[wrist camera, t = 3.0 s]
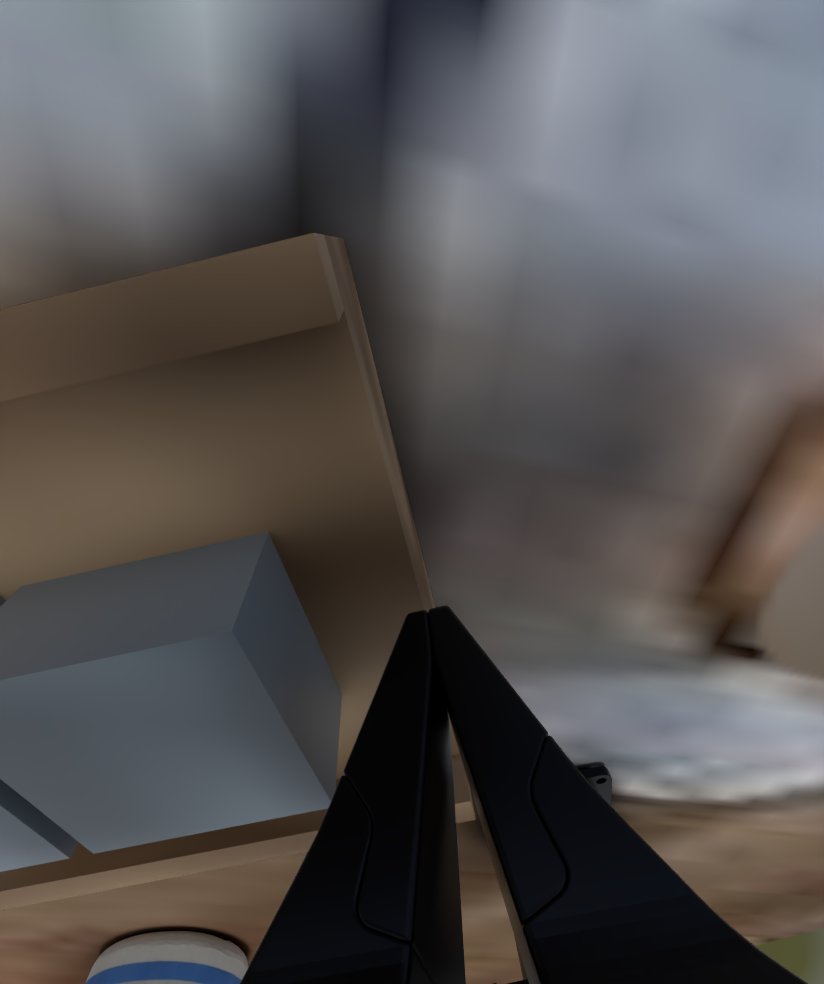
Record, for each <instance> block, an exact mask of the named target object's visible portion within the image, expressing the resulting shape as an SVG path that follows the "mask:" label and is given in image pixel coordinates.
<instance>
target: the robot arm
mask: <svg viewBox="0 0 824 984" xmlns="http://www.w3.org/2000/svg"><path fill="white" fill-rule="evenodd" d="M448 714H449V715H448ZM449 718H450V721H451V725H452V729H453V733H454V736H455V739H456V743H457V746H458V749H459V753H460V756H461V759H462V763H463V766H464V769H465V772H466V776H467V779H468V782H469V786H470V789H471V792H472V796H473V799H474V802H475V806H476V809H477V812H478V816H479V819H480V822H481V826H482V829H483V832H484V835H485V839H486V842H487V845H488V849H489V852H490V855H491V859H492V862H493V865H494V869H495V872H496V875H497V879H498V882H499V885H500V889H501V892H502V895H503V898H504V902H505V905H506V908H507V912H508V915H509V918H510V922H511V925H512V928H513V932H514V936H515V941H516V946H517V951H518V956H519V961H520V966H521V971H522V975H523V980H522V981H517V982H513V983H508V984H808V983H807V982H805V981H804V980H802V979H801V978H799V977H798V976H796V975H795V974H794V973H792V972H791V971H789V970H788V969H786V968H785V967H783V966H782V965H781V964H779V963H778V962H776V961H775V960H773V959H772V958H771V957H769V956H768V955H766V954H765V953H764V952H762V951H761V950H759V949H758V948H757V947H755V946H754V945H753V944H752V943H750V942H749V941H748V940H747V939H745V938H744V937H743V936H742V935H741V934H739V933H738V932H737V931H736V930H735V929H734V928H732V927H731V926H730V925H729V924H728V923H727V922H726V921H725V920H723V919H722V918H721V917H720V916H719V915H718V914H717V913H716V912H715V911H714V910H713V909H712V908H710V907H709V906H708V905H707V904H706V903H705V902H704V901H703V900H702V899H701V898H700V897H699V896H698V895H697V894H696V893H695V892H694V891H693V890H692V889H691V888H690V887H689V886H688V885H687V884H686V883H685V882H684V881H683V880H682V879H681V878H680V876H679V875H678V874H677V873H676V872H675V871H674V870H673V869H672V868H671V867H670V866H669V865H668V864H667V863H666V862H665V861H664V860H663V859H662V858H661V857H660V856H659V855H658V854H657V853H656V852H655V851H654V850H653V849H652V848H651V847H650V846H649V845H648V844H647V843H646V842H645V841H644V840H643V839H642V838H641V837H640V836H639V835H638V834H637V833H636V832H635V831H634V830H633V829H632V828H631V827H630V826H629V824H628V823H627V822H626V821H625V820H624V819H623V818H622V817H621V816H620V815H619V814H618V813H617V812H616V811H615V810H614V809H613V808H612V807H611V788H612V778H611V776H610V774H609V771H608V769H607V768H606V767H602V766H601V767H594V768H589V769H583V770H578V769H577V768H576V767H575V765H574V764H573V763H572V762H571V761H570V759H569V758H568V757H567V756H566V755H565V753H564V752H563V751H562V749H561V748H560V747H559V746H558V744H557V743H556V742H555V741H554V739H553V738H552V737H551V736H548V732H547V731H546V730H545V728H544V727H543V726H542V724H541V723H540V722H539V721H538V719H537V718H536V717H535V716H534V714H533V713H532V712H531V710H530V709H529V708H528V707H527V705H526V704H525V703H524V702H523V700H522V699H521V698H520V696H519V695H518V694H517V693H516V691H515V690H514V689H513V688H512V686H511V685H510V684H509V682H508V681H507V680H506V679H505V677H504V676H503V675H502V674H501V672H500V671H499V670H498V668H497V667H496V666H495V665H494V663H493V662H492V661H491V660H490V658H489V657H488V656H487V654H486V653H485V652H484V651H483V649H482V648H481V647H480V646H479V644H478V643H477V642H476V641H475V639H474V638H473V637H472V635H471V634H470V633H469V632H468V630H467V629H466V628H465V627H464V625H463V624H462V623H461V621H460V620H459V619H458V618H457V616H456V615H455V614H454V613H453V611H452V610H451V609H450V608H449V607H448V606H441V607H436V608H431V609H429V611H428V612H427V611H426V610H421V611H416V612H411V613H409V614H407V616H406V618H405V620H404V623H403V625H402V628H401V630H400V633H399V635H398V638H397V640H396V643H395V645H394V648H393V650H392V653H391V655H390V657H389V660H388V662H387V665H386V667H385V670H384V672H383V675H382V677H381V680H380V682H379V685H378V687H377V690H376V692H375V695H374V697H373V700H372V702H371V704H370V707H369V709H368V712H367V714H366V717H365V719H364V722H363V724H362V727H361V729H360V732H359V734H358V737H357V739H356V742H355V744H354V747H353V749H352V751H351V754H350V756H349V759H348V761H347V764H346V766H345V769H344V775H343V776H341V778H340V781H339V783H338V786H337V788H336V791H335V793H334V796H333V798H332V800H331V803H330V805H329V807H328V810H327V812H326V814H325V816H324V819H323V821H322V823H321V826H320V828H319V830H318V833H317V835H316V837H315V839H314V841H313V843H312V845H311V847H310V849H309V851H308V853H307V855H306V857H305V859H304V861H303V863H302V865H301V867H300V869H299V871H298V873H297V875H296V877H295V879H294V881H293V883H292V885H291V887H290V888H289V890H288V892H287V894H286V896H285V898H284V900H283V902H282V904H281V906H280V908H279V910H278V911H277V913H276V915H275V917H274V919H273V921H272V923H271V925H270V927H269V929H268V931H267V933H266V935H265V936H264V938H263V940H262V942H261V944H260V946H259V948H258V950H257V952H256V954H255V956H254V958H253V960H252V961H251V963H250V965H249V967H248V969H247V971H246V973H245V975H244V977H243V979H242V980H241V982H240V984H466V982H465V966H464V949H463V932H462V916H461V899H460V882H459V866H458V849H457V832H456V816H455V799H454V782H453V766H452V749H451V733H450V722H449ZM494 984H496V983H494Z"/></svg>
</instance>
